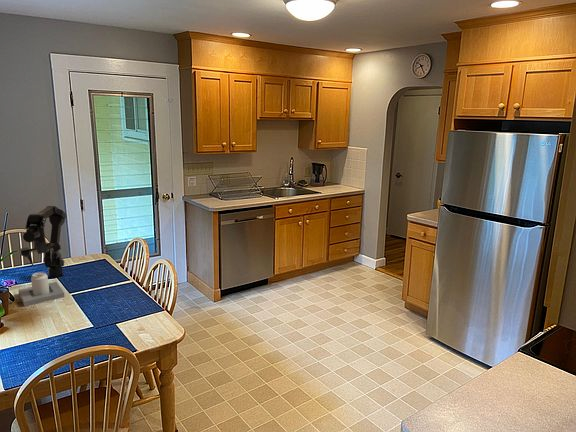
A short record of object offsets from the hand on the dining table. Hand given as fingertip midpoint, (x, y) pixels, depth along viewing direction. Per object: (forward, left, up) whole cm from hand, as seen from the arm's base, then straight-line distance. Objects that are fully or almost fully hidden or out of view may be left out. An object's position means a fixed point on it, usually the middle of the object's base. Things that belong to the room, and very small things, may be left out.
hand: (42, 263), depth 227 cm
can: (+4, +13, -13) cm, 19 cm away
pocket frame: (+4, +13, -13) cm, 19 cm away
